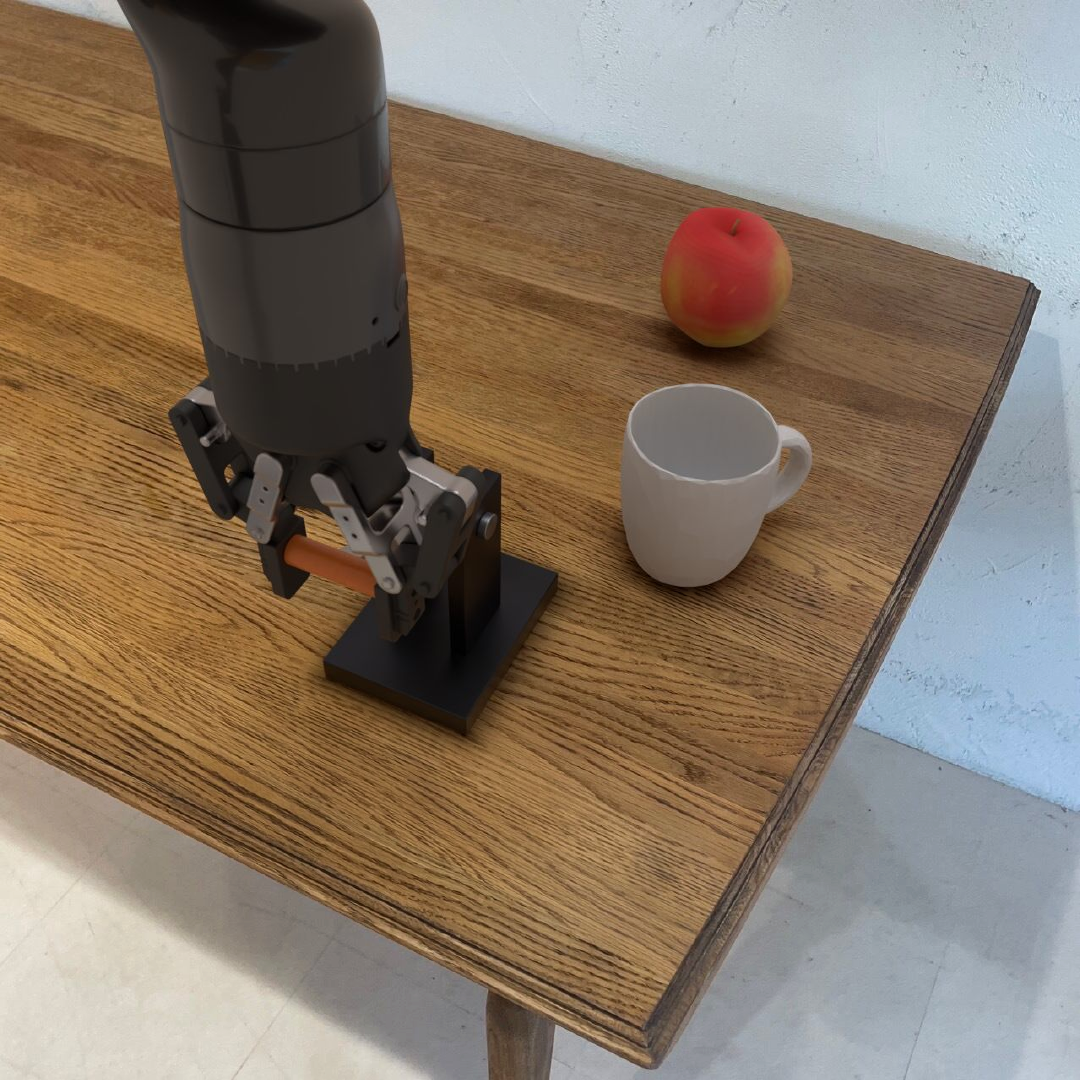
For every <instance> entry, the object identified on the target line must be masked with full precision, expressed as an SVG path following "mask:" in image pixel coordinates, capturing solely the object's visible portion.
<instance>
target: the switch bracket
mask: <svg viewBox="0 0 1080 1080" xmlns="http://www.w3.org/2000/svg"><path fill="white" fill-rule="evenodd" d="M420 446H421V448H422V453H423V458H424V459H425V460H427V461H429V462H431V463H433V464H435V465H436V463H435V451H434V450H433V449H431V448H428V447H425V446H422V445H420ZM481 472H482V473H483V475H484V476H485V478H486V487H485V490H484V493H483V497H482V500H481V503H480V507H479V510H478V513H477V517H476V520H475V523H474V527H473V530H472V533H471V537H470V540H469V543H468V546H467V550H466V553H465V556H464V559H463V560H462V561H461V563H460V564H459V565H458V566H457V567H456V568H455V569H454V570H453V572H452V573H451V575H450V576H449V577H448V579H447V580H446V581H445V583H444V584H443V587H442V589H441V590H440V592H439V593H438V595H437V596H436V597H435V598H426V597H424V601H425V610H424V612H423V613H422V615H421V616H420V618H419V619H418V620H417V622H416V623H415V625H414V626H413V627H412V629H411V630H410V632H409V633H408V634H407V636H405V635H403V634H402V635H401V636H400V638H399V639H398V640H397V641H396V642H392V641H389V640H387V639H384V638H382V637H380V636H379V630H378V621H377V612H376V603H375V598H373V597H370V599H369V600H368V602H367V603H366V604H365V606H364V607H363V608H362V609H361V611H360V612H359V613H358V615H357V616H356V617H355V618H354V620H353V621H352V622H351V624H350V625H349V626H348V628H347V629H346V630H345V631H344V632H343V634H342V635H341V636H340V638H339V639H338V640H337V641H336V643H335V644H334V645H333V647H332V648H331V649H330V651H329V652H328V653H327V654H326V656H325V657H324V658H323V659H322V665H323V672H324V677H325V678H326V679H329V680H331V681H334V682H337V683H339V684H341V685H344V686H345V687H349V688H351V689H353V690H356V691H359V692H361V693H363V694H365V695H368V696H370V697H373V698H375V699H377V700H380V701H382V702H384V703H387V704H388V705H391V706H394V707H397V708H399V709H401V710H404V711H406V712H408V713H411V714H413V715H416V716H418V717H420V718H422V719H425V720H428V721H429V722H432V723H435V724H437V725H440V726H442V727H444V728H447V729H450V730H451V731H454V732H457V733H458V734H461V735H464V736H467V735H468V734H469V732H470V730H471V729H472V727H473V725H474V724H475V722H476V720H477V719H478V718H479V716H480V714H481V713H482V711H483V709H484V708H485V706H486V705H487V704H488V701H489V700H490V698H491V697H492V695H493V694H494V692H495V690H496V689H497V687H498V686H499V684H500V682H501V681H502V679H503V678H504V676H505V674H506V673H507V671H508V669H509V668H510V666H511V665H512V664H513V661H514V660H515V658H516V657H517V655H518V654H519V652H520V650H521V648H522V647H523V646H524V644H525V642H526V641H527V639H528V638H529V635H531V633H532V631H533V630H534V628H535V626H536V624H537V623H538V621H539V620H540V618H541V616H542V615H543V613H544V612H545V610H546V609H547V607H548V605H549V604H550V602H551V601H552V599H553V597H554V595H555V594H556V593H557V591H558V589H559V572H558V571H554V570H551V569H549V568H546V567H543V566H541V565H538V564H535V563H533V562H530V561H527V560H524V559H521V558H519V557H516V556H514V555H511V554H508V553H505V552H502V473H501V472H498V471H497V470H496V471H495V470H492V469H490V468H486V467H485V468H484V469H483V470H482V471H481ZM410 490H411V489H410ZM411 493H412V495H413V491H412V490H411ZM422 537H423V536H422Z"/></svg>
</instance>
